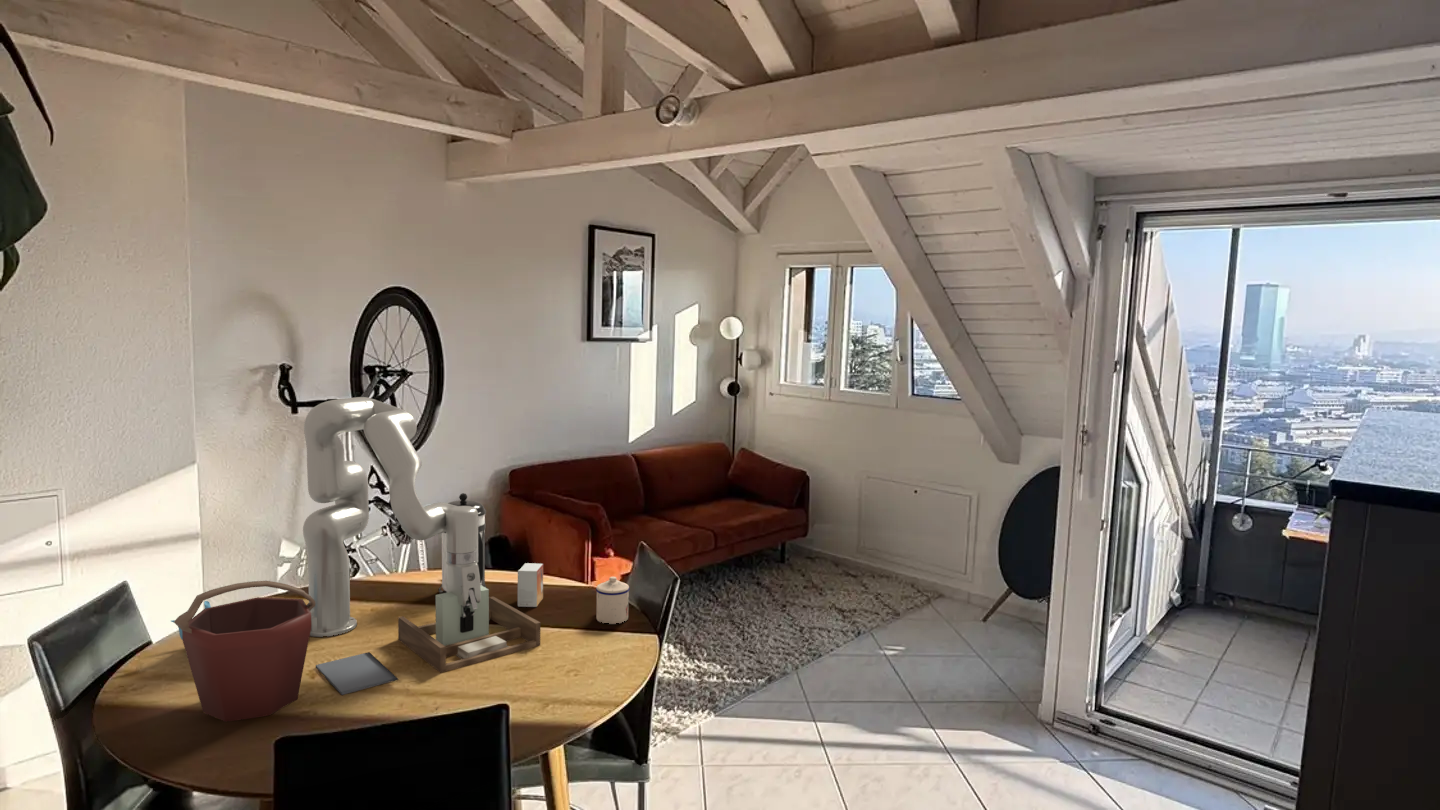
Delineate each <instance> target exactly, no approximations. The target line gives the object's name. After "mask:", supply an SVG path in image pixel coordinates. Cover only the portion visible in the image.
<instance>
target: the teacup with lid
mask: <svg viewBox="0 0 1440 810" xmlns="http://www.w3.org/2000/svg"><path fill="white" fill-rule="evenodd" d="M630 590H631V589H630V586H629V584H627V583H625V582H623V581H620V580H618V579H617V577H616V576H610V577H608V580H606V581H605V582H601V583H599V584H597V586H596V588H595V591H596V620H597V622H598V623H601V622H602V623H601V624H604V623H609V624H608V625H617V624H616V623H619V624H622V622H623V623H625V622H626V621H627V620H629V599H630V597H629V596H630V594H629V591H630ZM624 621H625V622H624Z"/></svg>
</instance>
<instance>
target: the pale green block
mask: <svg viewBox="0 0 1440 810" xmlns="http://www.w3.org/2000/svg"><path fill="white" fill-rule="evenodd" d="M489 593H490V589H489V588H488V587H487V588H485V587H483V586H482V585H481V601H480V602H479V603H477V602H476V603H477V609H476V610H475V611H474V615H473V630H472V631H468V632H464V633H461V632H460V617H462V612H461V605H460V604H458V598H457V596H456V595H454V594H453V593H451V592H442V593H439V594H435V622H436V633H435V639H436V640H437V641H439V642H440V643H441V644H443V645H444V646H447V645H451V644H455V643H458V642H462V641H466V640H470V639H474V638H478V637H482V636H486V635H490V633H489V632H490V625H489V624H490V620H489V597H490V596H489V595H490V594H489ZM466 603H469V601H466ZM469 607H470V606H466V607H465V611H466V609H467V608H469Z"/></svg>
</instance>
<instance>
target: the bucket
mask: <svg viewBox="0 0 1440 810" xmlns="http://www.w3.org/2000/svg"><path fill="white" fill-rule="evenodd" d="M261 587H262V588H263V587H264V588H265V587H267V588H268V587H269V588H274V589H279V590H284V591H288V592H289V593H290V592H291V593H294V594H297V595H300V596H302V597H303V598H305V599H306V600H307V601H308V603H307V604H306V602H305V600H304V599H302V598H286V597H285V598H284V597H283V598H281V597H259V596H257V597H252V598H247V599H242V600H240V601H233V602H230V603H225V604H224V603H223V604H220V605H214V606H211V607H210V608H205V607H204V608H203V609H202V610H201V611H200V612H198V611H199V609H200V607H201V606H202V604H203V603H204V601H207V600H208V599H211V598H215V597H217V596H219V595H223V594H225V593H229V592H230V593H231V592H233V591H238V590H243V589H244V590H245V589H250V588H261ZM309 601H310V603H309ZM315 604H316V602H315V600H314V599H313V598H312V597H311V596H310V595H309V593H307V591H305V590H304V589H302V588H299V587H296V586H293V585H291V584H286V583H282V582H277V581H271V580H258V581H255V580H254V581H244V582H238V583H233V584H232V583H231V584H229V585H225V586H220V587H217V588H212V589H210V590H207V591H205V592H203V593H200V594H197V595H196V596H195V598H194V599H193V601H192V602H191V604H190V606H189V608H188V610H187V611H185V612H183V613H182V614H180V615H179V616H177V618H176V619H174V620H175V621H174V622H173V623H174V624H175V625H176V626H177V628H178V627H179V628H180V629H181V630H182V637H183V640H182V644H183V646H184V650H185V653H186V658H187V661H188V664H189V667H190V671H191V674H192V678H193V682H194V684H195V689H196V692H197V695H198V696H197V697H198V698H199V703H200V706H201V710H202V713H203V712H205V713H204V714H206V715H208V714H209V716H210V715H211V717H213V716H214V717H213V718H215V717H216V718H215V719H217V718H218V720H220V719H221V720H220V721H222V720H223V721H222V722H224V723H228V722H232V721H240V720H241V719H242V720H247V719H248V720H249V719H254V718H259V717H260V718H261V717H267V716H270V715H272V714H274V713H276V712H277V711H280V710H281V709H283V708H285V707H286V706H288V705H290V704H292V703H294V702H296V701H298V698H299V693H300V687H301V683H302V682H301V681H302V678H303V672H304V666H305V663H306V657H307V652H308V646H309V641H310V637H311V636H310V631H311V612H310V610H311V609H312V608H314V607H315ZM197 612H198V613H197ZM179 628H178V629H179ZM242 720H241V721H242ZM227 721H228V722H227Z"/></svg>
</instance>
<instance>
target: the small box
mask: <svg viewBox="0 0 1440 810" xmlns="http://www.w3.org/2000/svg"><path fill="white" fill-rule="evenodd" d="M543 599H544V563H536V562H534V563H533V562H532V563H529V562H527V563H526V562H525V563H524V564H523V565H522V566H521V568H520V569H518V570H517V607H518V608H519V607H522V608H526V607H527V608H537V607H538V606H539V604H540V603H541V602H542V600H543Z"/></svg>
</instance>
